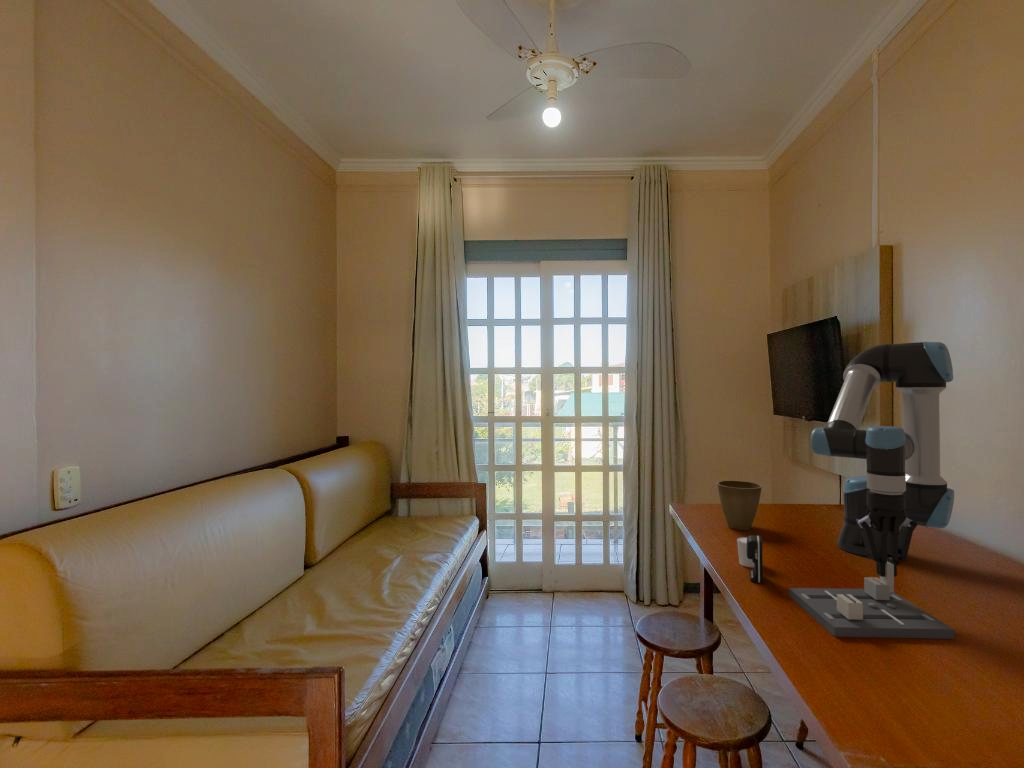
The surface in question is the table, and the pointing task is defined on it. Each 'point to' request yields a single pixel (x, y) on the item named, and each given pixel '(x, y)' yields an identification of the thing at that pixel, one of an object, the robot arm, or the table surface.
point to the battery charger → (755, 557)
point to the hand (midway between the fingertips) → (886, 589)
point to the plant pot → (739, 502)
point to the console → (870, 615)
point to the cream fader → (849, 606)
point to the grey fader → (876, 588)
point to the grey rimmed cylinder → (743, 552)
